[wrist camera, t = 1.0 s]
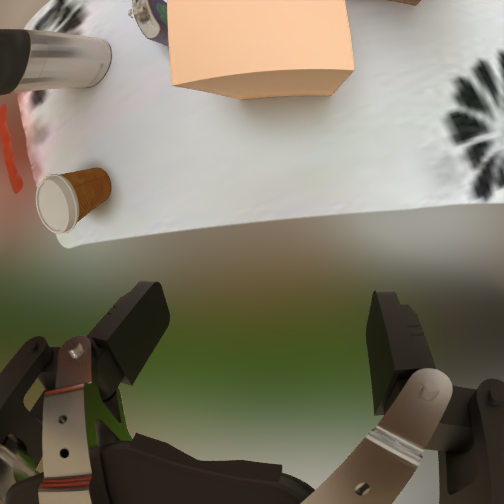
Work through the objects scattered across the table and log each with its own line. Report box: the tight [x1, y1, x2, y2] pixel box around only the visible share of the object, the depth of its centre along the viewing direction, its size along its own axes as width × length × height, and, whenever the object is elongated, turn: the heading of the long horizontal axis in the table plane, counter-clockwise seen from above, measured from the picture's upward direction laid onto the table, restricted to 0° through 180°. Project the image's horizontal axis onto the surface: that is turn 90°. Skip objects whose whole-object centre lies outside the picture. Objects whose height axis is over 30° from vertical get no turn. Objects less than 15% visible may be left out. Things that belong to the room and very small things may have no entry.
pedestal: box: [167, 0, 354, 100], centre depth 21 cm, size 14×12×20 cm
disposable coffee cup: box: [36, 168, 111, 234], centre depth 38 cm, size 10×10×12 cm
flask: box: [128, 0, 169, 46], centre depth 25 cm, size 9×3×11 cm, turn 21°
